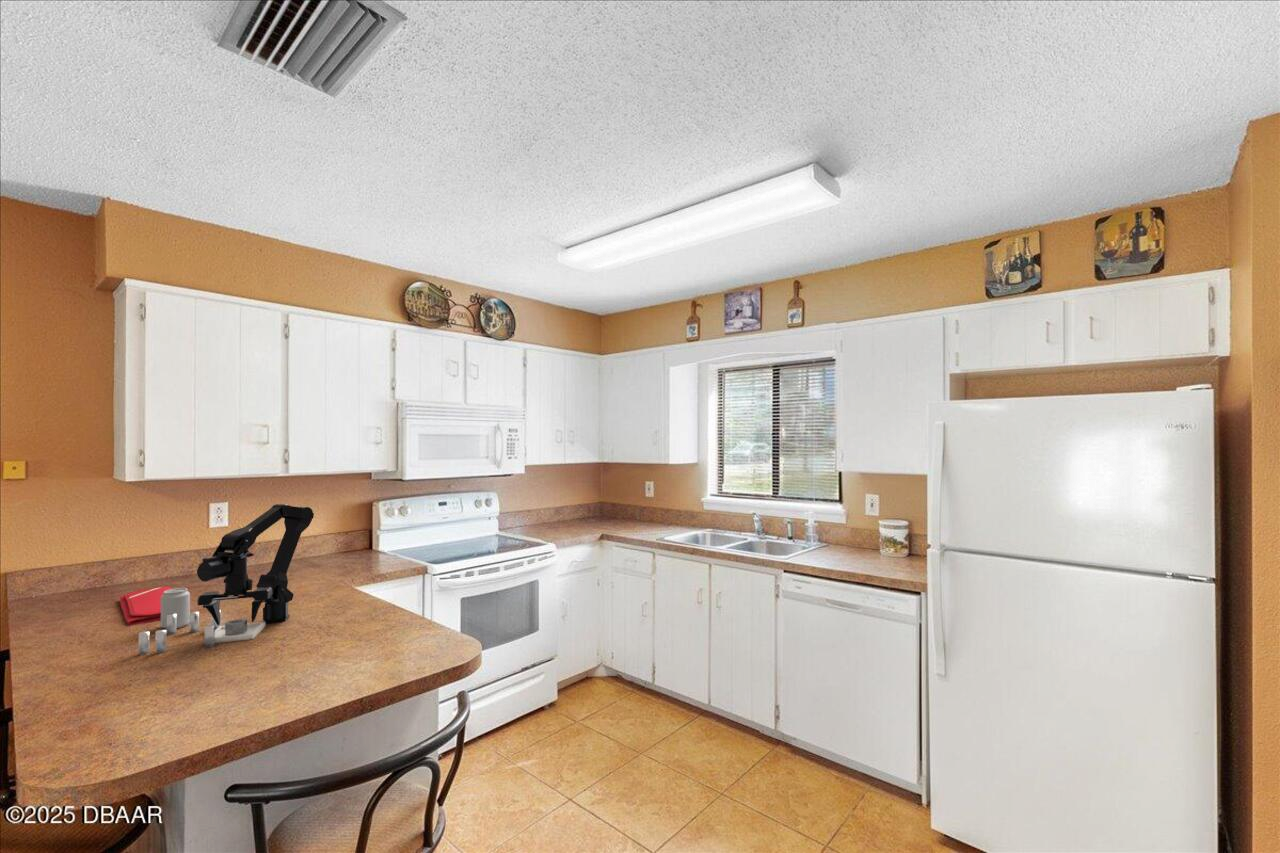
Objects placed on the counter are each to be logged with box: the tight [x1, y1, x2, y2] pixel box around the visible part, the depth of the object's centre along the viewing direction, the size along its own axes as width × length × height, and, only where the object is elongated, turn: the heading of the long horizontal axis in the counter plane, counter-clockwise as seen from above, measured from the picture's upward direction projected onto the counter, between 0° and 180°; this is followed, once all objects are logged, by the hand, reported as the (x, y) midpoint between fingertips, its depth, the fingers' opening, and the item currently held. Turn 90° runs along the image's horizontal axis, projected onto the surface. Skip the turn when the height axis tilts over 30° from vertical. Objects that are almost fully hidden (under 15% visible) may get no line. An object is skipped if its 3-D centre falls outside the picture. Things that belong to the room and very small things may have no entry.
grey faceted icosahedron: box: [224, 618, 248, 636], centre depth 181 cm, size 5×6×4 cm
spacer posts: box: [138, 609, 222, 656], centre depth 177 cm, size 18×20×6 cm
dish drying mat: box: [119, 586, 172, 627], centre depth 211 cm, size 16×41×4 cm, turn 45°
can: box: [160, 587, 191, 630], centre depth 190 cm, size 8×8×12 cm
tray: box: [203, 621, 266, 645], centre depth 181 cm, size 13×13×2 cm
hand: (236, 623), depth 181 cm, fingers open, 9 cm apart
